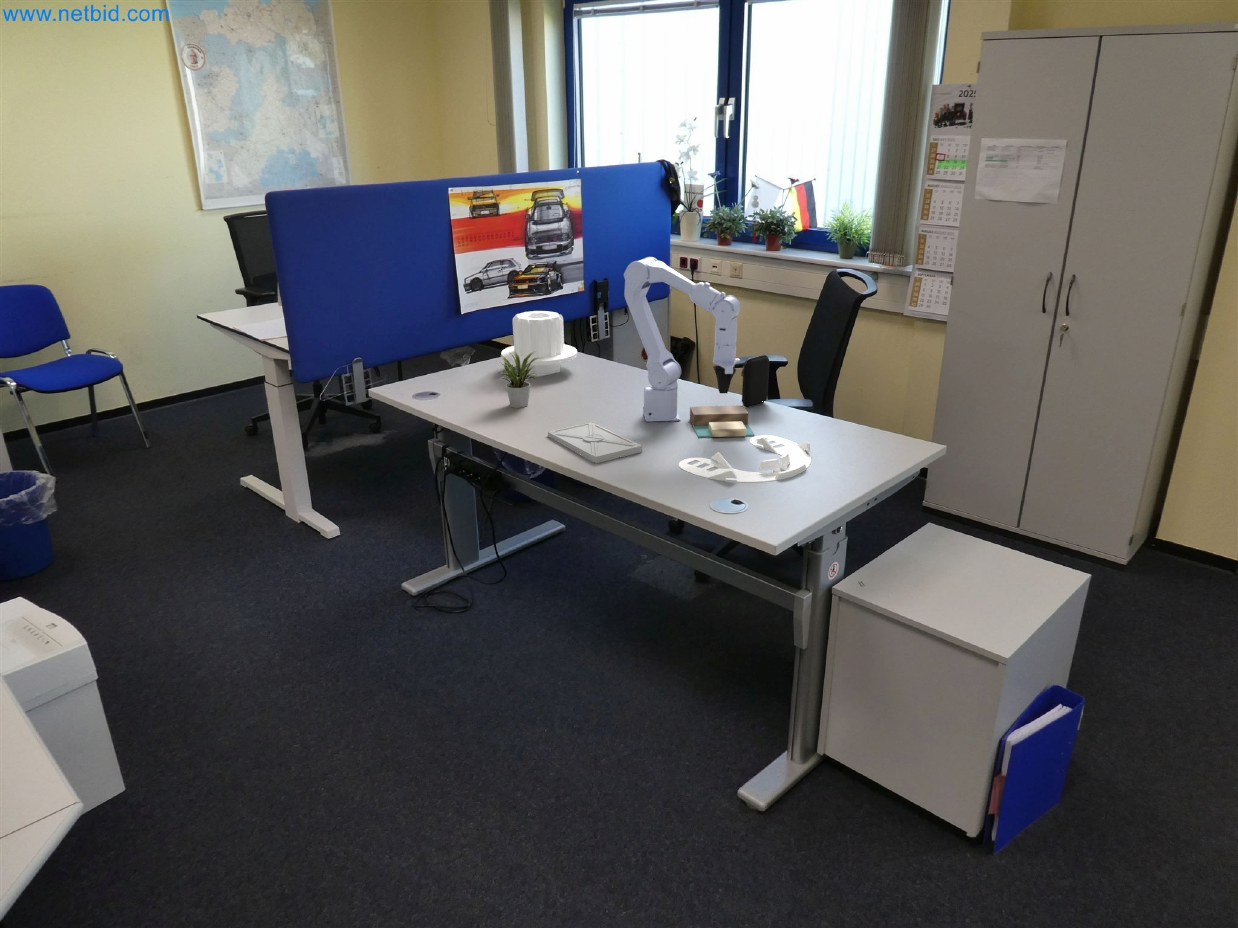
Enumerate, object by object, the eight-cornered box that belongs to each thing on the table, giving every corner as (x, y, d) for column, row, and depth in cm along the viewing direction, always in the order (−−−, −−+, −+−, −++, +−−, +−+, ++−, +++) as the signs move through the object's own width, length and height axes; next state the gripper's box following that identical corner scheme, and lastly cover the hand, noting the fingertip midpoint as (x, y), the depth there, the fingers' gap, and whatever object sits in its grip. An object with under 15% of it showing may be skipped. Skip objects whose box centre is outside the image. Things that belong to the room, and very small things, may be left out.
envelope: (591, 428, 235) (548, 438, 228) (591, 421, 234) (547, 430, 227) (641, 452, 216) (595, 464, 209) (641, 444, 215) (595, 455, 208)
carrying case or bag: (744, 410, 246) (746, 361, 241) (736, 408, 249) (738, 358, 243) (769, 403, 252) (772, 354, 247) (761, 401, 255) (764, 352, 249)
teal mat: (698, 437, 226) (698, 436, 226) (693, 427, 233) (693, 426, 233) (754, 435, 227) (754, 434, 226) (748, 426, 234) (748, 424, 234)
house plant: (551, 398, 259) (549, 345, 253) (543, 412, 246) (541, 357, 240) (505, 397, 260) (502, 344, 254) (494, 411, 248) (491, 356, 242)
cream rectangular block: (708, 422, 230) (708, 429, 231) (712, 429, 224) (712, 436, 225) (741, 421, 230) (741, 428, 231) (746, 428, 225) (746, 435, 225)
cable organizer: (766, 435, 229) (767, 422, 228) (840, 459, 212) (841, 446, 211) (670, 466, 208) (670, 453, 207) (743, 497, 191) (744, 482, 190)
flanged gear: (549, 358, 303) (547, 304, 296) (592, 372, 285) (591, 316, 278) (488, 370, 288) (484, 314, 282) (530, 386, 271) (527, 327, 264)
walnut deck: (693, 426, 234) (693, 414, 232) (689, 418, 240) (690, 406, 239) (747, 425, 235) (748, 413, 233) (742, 417, 241) (743, 405, 240)
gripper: (745, 349, 220) (743, 400, 225) (735, 336, 233) (733, 384, 238) (718, 350, 219) (716, 401, 224) (709, 337, 233) (708, 385, 238)
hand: (723, 392), depth 231 cm, fingers closed
